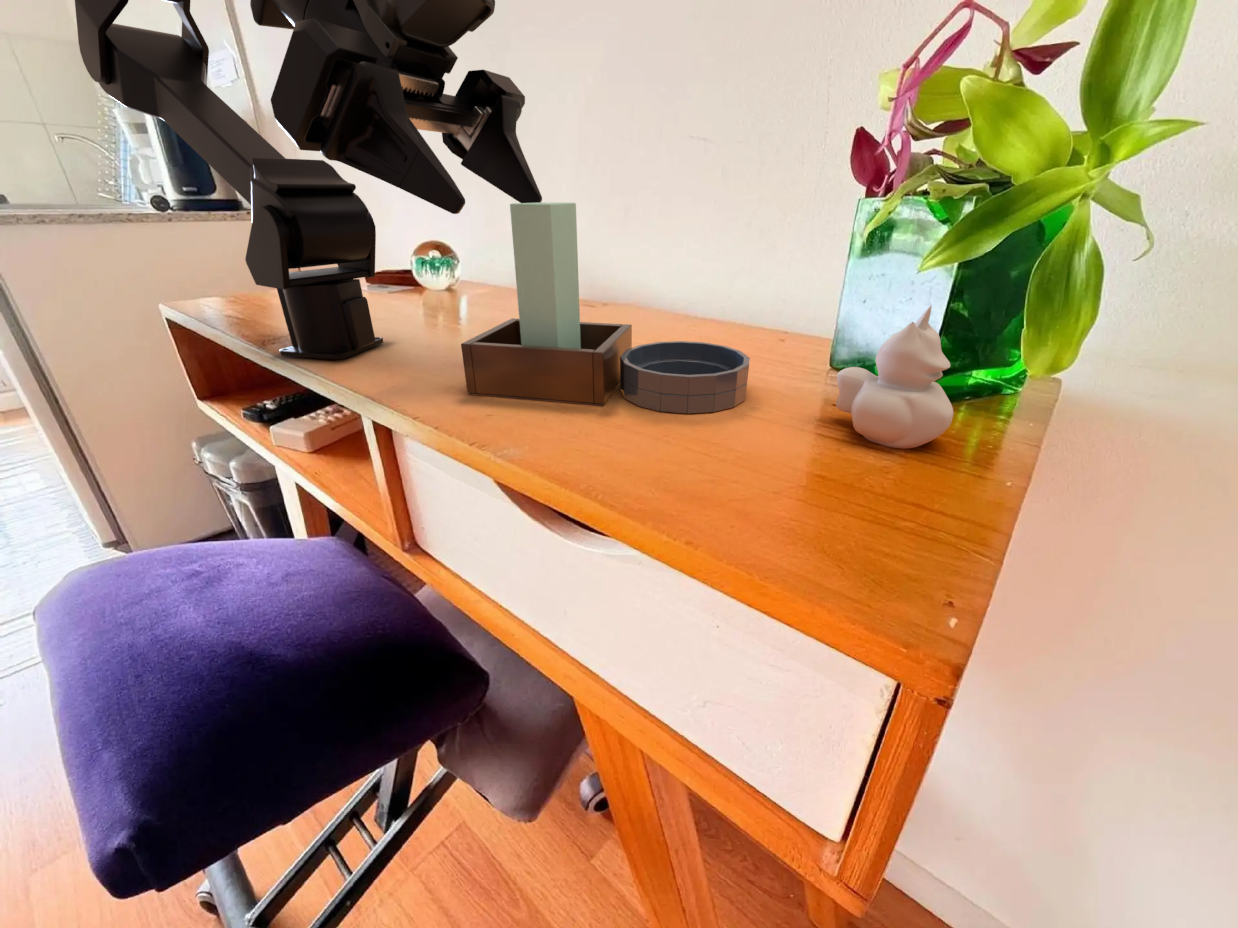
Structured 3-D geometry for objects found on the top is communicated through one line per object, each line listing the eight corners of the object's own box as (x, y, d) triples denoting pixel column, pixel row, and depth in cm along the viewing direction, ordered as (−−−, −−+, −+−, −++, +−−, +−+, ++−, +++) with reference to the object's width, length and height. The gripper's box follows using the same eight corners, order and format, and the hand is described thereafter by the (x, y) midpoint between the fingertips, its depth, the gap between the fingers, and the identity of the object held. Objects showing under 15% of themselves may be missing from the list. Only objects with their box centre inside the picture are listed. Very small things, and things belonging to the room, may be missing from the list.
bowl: (607, 414, 36) (606, 370, 35) (635, 375, 44) (636, 338, 43) (742, 426, 34) (747, 380, 33) (747, 383, 42) (751, 344, 41)
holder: (468, 401, 39) (460, 343, 37) (515, 367, 46) (511, 318, 44) (604, 413, 37) (603, 352, 35) (631, 375, 44) (631, 324, 42)
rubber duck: (919, 473, 29) (962, 319, 25) (806, 435, 33) (829, 300, 29) (957, 444, 32) (1000, 304, 28) (850, 413, 36) (875, 289, 33)
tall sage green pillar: (524, 384, 40) (509, 203, 35) (548, 371, 43) (537, 202, 38) (560, 389, 39) (550, 203, 34) (582, 375, 42) (576, 202, 37)
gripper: (239, -219, 23) (482, 74, 25) (490, -58, 39) (633, 118, 40) (186, 29, 30) (382, 253, 31) (421, 83, 45) (545, 231, 46)
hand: (503, 206), depth 37 cm, fingers open, 9 cm apart
